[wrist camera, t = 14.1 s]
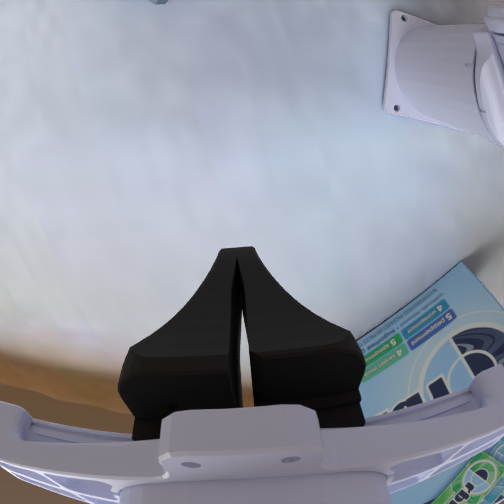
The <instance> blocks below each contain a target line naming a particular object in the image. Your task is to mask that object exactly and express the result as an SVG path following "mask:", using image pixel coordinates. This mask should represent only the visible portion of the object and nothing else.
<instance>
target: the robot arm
mask: <svg viewBox="0 0 504 504" xmlns="http://www.w3.org/2000/svg"><path fill="white" fill-rule="evenodd" d="M402 16H403V17H404V18H405V21H403V20H402V18H401V17H402ZM483 19H484V22H485V23H486V24H453V25H436V24H434V23H431V22H429V21H426V20H424V19H421V18H419V17H416V16H413V15H410V14H407V13H404V12H401V11H398V10H394V11H392V12H391V13H390V26H389V44H388V58H387V70H386V80H385V90H384V99H383V109H384V111H385V112H387V113H390V114H395V115H400V116H405V117H409V118H414V119H418V120H422V121H426V122H430V123H434V124H438V125H442V126H446V127H449V128H453V129H456V130H460V131H463V132H466V133H470V134H473V135H477V136H479V137H481V138H484V139H486V140H488V141H490V142H493V143H495V144H497V145H499V146H501V147H503V148H504V1H501V2H497V3H494V4H491V5H490V6H489V8H488V11H487V14H485V15H484V18H483ZM395 105H397V107H398V108H397V110H396V111H395V110H394V106H395ZM242 311H243V317H244V323H245V328H246V333H247V339H248V344H249V356H250V366H251V377H252V387H253V397H254V407H247V408H243V400H242V386H241V370H240V340H241V319H242ZM365 369H366V361H365V358H364V355H363V353H362V350H361V348H360V347H359V345H358V343H357V341H356V340H355V338H354V337H353V335H352V333H351V332H350V331H348V330H346V329H344V328H342V327H339V326H337V325H335V324H333V323H330V322H328V321H327V320H325V319H323V318H321V317H319V316H318V315H316V314H314V313H313V312H311V311H310V310H309V309H307V308H306V307H304V306H303V305H301V304H300V303H299V302H298V301H297V300H295V299H294V298H293V297H292V296H291V295H290V294H289V293H287V292H286V291H285V290H284V289H283V287H282V286H281V285H280V284H279V283H278V282H277V281H276V280H275V279H274V277H273V276H272V275H271V274H270V272H269V271H268V270H267V268H266V267H265V266H264V264H263V263H262V261H261V260H260V258H259V256H258V254H257V252H256V250H255V248H254V247H252V246H250V247H237V248H225V249H221V250H220V251H219V253H218V256H217V258H216V260H215V262H214V264H213V266H212V268H211V270H210V271H209V273H208V275H207V276H206V278H205V280H204V281H203V283H202V284H201V285H200V287H199V288H198V290H197V291H196V292H195V294H194V295H193V296H192V298H191V299H190V300H189V301H188V302H187V303H186V305H185V306H184V307H183V308H182V309H181V310H180V311H179V312H178V313H177V314H176V315H175V316H174V317H173V318H172V319H171V320H169V321H168V322H167V323H166V324H165V325H163V326H162V327H161V328H159V329H158V330H157V331H155V332H154V333H153V334H151V335H150V336H148V337H146V338H145V339H143V340H142V341H140V342H138V343H137V344H135V345H133V346H132V347H130V349H129V351H128V354H127V356H126V358H125V361H124V363H123V366H122V370H121V374H120V378H119V382H118V392H119V394H120V397H121V398H122V400H123V401H124V403H125V404H126V405H127V407H128V408H129V410H130V411H131V413H132V414H133V415H134V417H135V420H134V427H133V433H132V434H122V433H113V432H104V431H97V430H90V429H84V428H78V427H72V426H66V425H61V424H55V423H51V422H46V421H41V420H37V419H33V418H32V417H31V416H30V414H29V413H28V412H27V411H26V410H24V409H23V408H21V407H20V406H17V405H14V404H10V403H6V402H2V401H0V466H1V467H2V468H4V469H5V470H7V471H8V472H10V473H11V474H13V475H14V476H16V477H18V478H19V479H21V480H24V481H26V482H29V483H31V484H34V485H37V486H39V487H43V488H45V489H48V490H51V491H53V492H56V493H59V494H62V495H65V496H68V497H71V498H74V499H77V500H80V501H84V502H87V503H91V504H392V501H391V497H390V494H391V493H393V492H396V491H399V490H401V489H404V488H406V487H409V486H411V485H414V484H416V483H419V482H421V481H423V480H426V479H428V478H430V477H432V476H434V475H437V474H439V473H441V472H443V471H445V470H447V469H449V468H451V467H453V466H455V465H457V464H459V463H461V462H463V461H465V460H467V459H469V458H471V457H472V456H474V455H476V454H478V453H480V452H482V451H484V450H485V449H487V448H489V447H491V446H493V445H494V444H495V443H496V442H498V441H499V440H500V439H501V438H502V437H503V436H504V368H503V366H502V365H501V364H499V365H496V366H494V367H492V368H489V369H487V370H484V371H482V372H480V373H479V374H478V375H476V376H475V378H474V379H473V380H472V382H471V383H470V385H469V387H466V388H464V389H461V390H459V391H456V392H453V393H450V394H448V395H445V396H442V397H439V398H436V399H433V400H430V401H427V402H424V403H421V404H417V405H414V406H411V407H407V408H404V409H400V410H397V411H393V412H389V413H385V414H381V415H377V416H373V417H369V418H364V415H363V411H362V408H361V405H360V402H361V394H360V391H359V386H360V384H361V381H362V378H363V376H364V373H365Z"/></svg>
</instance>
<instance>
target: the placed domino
mask: <svg viewBox="0 0 504 504" xmlns="http://www.w3.org/2000/svg"><path fill="white" fill-rule="evenodd" d="M149 1H151V2H152V3H154V4H165V3H166V2H167V1H168V0H149Z"/></svg>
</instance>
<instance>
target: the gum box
mask: <svg viewBox="0 0 504 504" xmlns="http://www.w3.org/2000/svg"><path fill="white" fill-rule="evenodd" d="M357 343H358V345H359V347H360V348H361V350H362V353H363V355H364V358H365V361H366V369H365V373H364V376H363V378H362V381H361V384H360V386H359V391H360V394H361V402H360V405H361V408H362V411H363V415H364V418H369V417H373V416H377V415H381V414H385V413H389V412H393V411H397V410H400V409H404V408H407V407H411V406H414V405H417V404H421V403H424V402H427V401H430V400H433V399H436V398H439V397H442V396H445V395H448V394H450V393H453V392H456V391H459V390H461V389H464V388H466V387H469V385H470V383H471V382H472V380H473V379H474V378H475V376H476V375H478V374H479V373H480V372H482V371H484V370H487V369H489V368H492V367H494V366H496V365H499V364H501V365H502V366H503V368H504V308H503V307H502V306H501V305H500V304H499V302H498V301H497V300H496V299H495V298H494V296H493V295H492V294H491V293H490V292H489V290H488V289H487V288H486V287H485V286H484V285H483V284H482V282H481V281H480V280H479V279H478V278H477V277H476V276H475V275H474V273H473V272H472V271H471V270H470V269H469V268H468V267H467V266H466V265H465V264H464V263H463V262H462V261H461V262H460V263H458V264H457V265H456V266H455V267H454V268H453V269H452V270H451V271H449V272H448V273H447V274H446V275H445V276H443V277H442V278H441V279H440V280H439V281H437V282H436V283H435V284H434V285H432V286H431V287H430V288H429V289H427V290H426V291H425V292H424V293H422V294H421V295H420V296H419V297H417V298H416V299H415V300H413V301H412V302H411V303H409V304H408V305H407V306H406V307H404V308H403V309H401V310H400V311H399V312H397V313H396V314H395V315H393V316H392V317H391V318H389V319H388V320H386V321H385V322H384V323H382V324H381V325H379V326H378V327H377V328H375V329H374V330H372V331H371V332H369V333H368V334H366V335H365V336H364V337H362V338H361V339H359V340H358V341H357ZM390 497H391V501H392V504H498V503H500V502H502V501H503V500H504V436H503V437H502V438H501V439H500V440H499V441H498V442H496V443H495V444H494V445H493V446H491V447H489V448H487V449H485V450H484V451H482V452H480V453H478V454H476V455H474V456H472V457H471V458H469V459H467V460H465V461H463V462H461V463H459V464H457V465H455V466H453V467H451V468H449V469H447V470H445V471H443V472H441V473H439V474H437V475H434V476H432V477H430V478H428V479H426V480H423V481H421V482H419V483H416V484H414V485H411V486H409V487H406V488H404V489H401V490H399V491H396V492H393V493H391V494H390Z"/></svg>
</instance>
